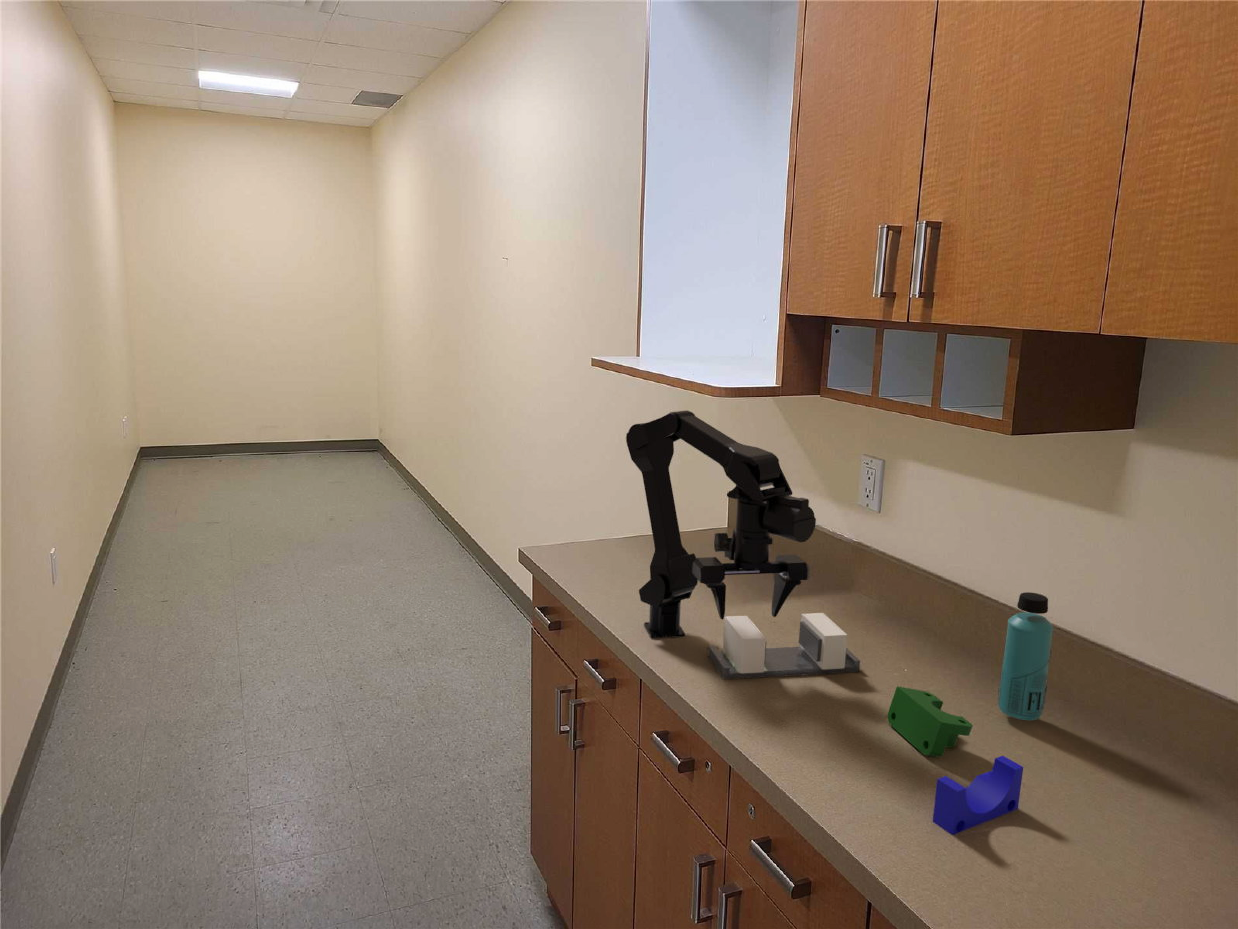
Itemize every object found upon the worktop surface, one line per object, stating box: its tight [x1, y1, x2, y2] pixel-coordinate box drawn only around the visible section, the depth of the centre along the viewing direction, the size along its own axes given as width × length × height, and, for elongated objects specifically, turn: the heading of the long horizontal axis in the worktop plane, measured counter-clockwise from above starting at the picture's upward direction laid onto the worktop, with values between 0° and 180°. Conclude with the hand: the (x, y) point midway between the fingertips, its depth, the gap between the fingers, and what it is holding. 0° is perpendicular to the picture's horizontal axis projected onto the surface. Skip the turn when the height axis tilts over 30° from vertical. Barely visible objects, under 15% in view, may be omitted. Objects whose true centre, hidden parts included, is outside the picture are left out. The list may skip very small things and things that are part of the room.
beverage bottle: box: [996, 591, 1054, 721], centre depth 133 cm, size 6×7×20 cm
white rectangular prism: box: [722, 615, 767, 673], centre depth 150 cm, size 4×10×6 cm, turn 10°
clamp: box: [887, 686, 973, 758], centre depth 128 cm, size 12×6×9 cm, turn 9°
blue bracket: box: [932, 755, 1024, 836], centre depth 110 cm, size 12×4×6 cm, turn 119°
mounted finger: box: [798, 612, 848, 670], centre depth 152 cm, size 10×5×6 cm, turn 11°
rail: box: [707, 645, 861, 680], centre depth 152 cm, size 9×24×2 cm, turn 101°
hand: (747, 617), depth 149 cm, fingers open, 9 cm apart
